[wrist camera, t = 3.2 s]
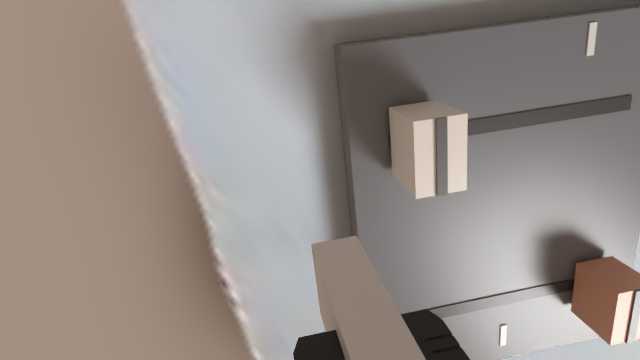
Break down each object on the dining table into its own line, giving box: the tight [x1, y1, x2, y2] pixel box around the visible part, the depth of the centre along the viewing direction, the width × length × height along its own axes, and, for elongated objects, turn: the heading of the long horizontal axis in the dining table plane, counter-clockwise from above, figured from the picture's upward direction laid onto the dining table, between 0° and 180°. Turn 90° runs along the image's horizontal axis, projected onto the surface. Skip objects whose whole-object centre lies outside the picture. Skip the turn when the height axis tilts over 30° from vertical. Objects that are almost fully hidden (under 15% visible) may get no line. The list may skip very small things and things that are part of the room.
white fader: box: [389, 100, 468, 199], centre depth 26 cm, size 4×3×4 cm
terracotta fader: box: [571, 256, 640, 346], centre depth 32 cm, size 4×3×4 cm
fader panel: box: [334, 5, 640, 360], centre depth 32 cm, size 26×22×2 cm
